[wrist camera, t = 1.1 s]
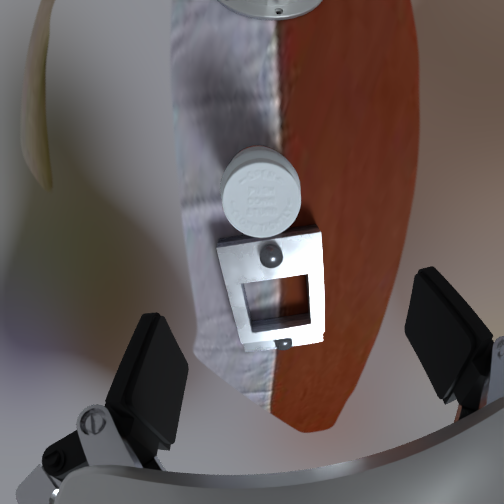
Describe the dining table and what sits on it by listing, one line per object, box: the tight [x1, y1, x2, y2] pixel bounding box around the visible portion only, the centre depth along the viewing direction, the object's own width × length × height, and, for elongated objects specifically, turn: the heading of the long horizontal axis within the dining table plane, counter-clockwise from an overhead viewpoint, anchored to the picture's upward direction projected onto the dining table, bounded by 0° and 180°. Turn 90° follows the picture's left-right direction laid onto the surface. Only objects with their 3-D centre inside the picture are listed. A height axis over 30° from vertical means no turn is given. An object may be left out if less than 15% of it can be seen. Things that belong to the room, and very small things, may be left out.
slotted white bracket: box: [216, 224, 325, 352], centre depth 32 cm, size 17×11×3 cm, turn 9°
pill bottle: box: [220, 146, 301, 238], centre depth 22 cm, size 6×6×11 cm
